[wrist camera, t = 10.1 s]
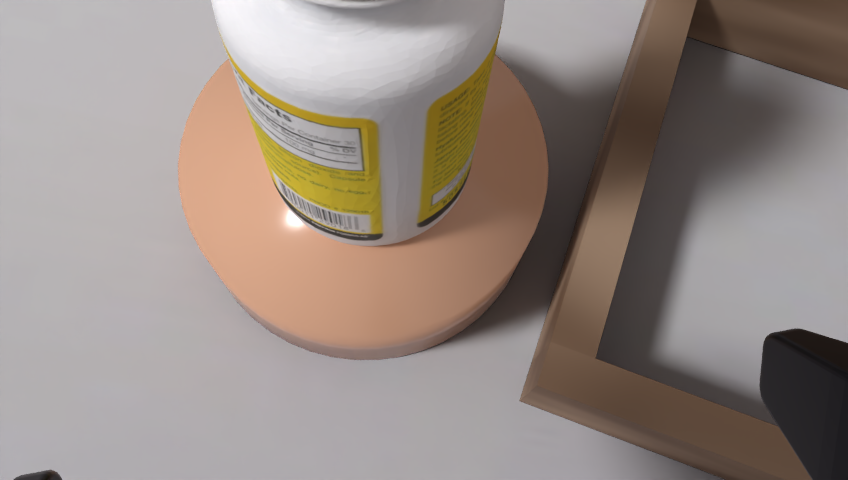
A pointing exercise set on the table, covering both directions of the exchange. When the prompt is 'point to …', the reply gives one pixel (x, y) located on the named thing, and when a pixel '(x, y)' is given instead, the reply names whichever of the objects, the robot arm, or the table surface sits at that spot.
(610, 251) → the brown wooden frame
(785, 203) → the table surface
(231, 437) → the table surface
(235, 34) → the supplement bottle
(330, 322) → the terracotta stand
